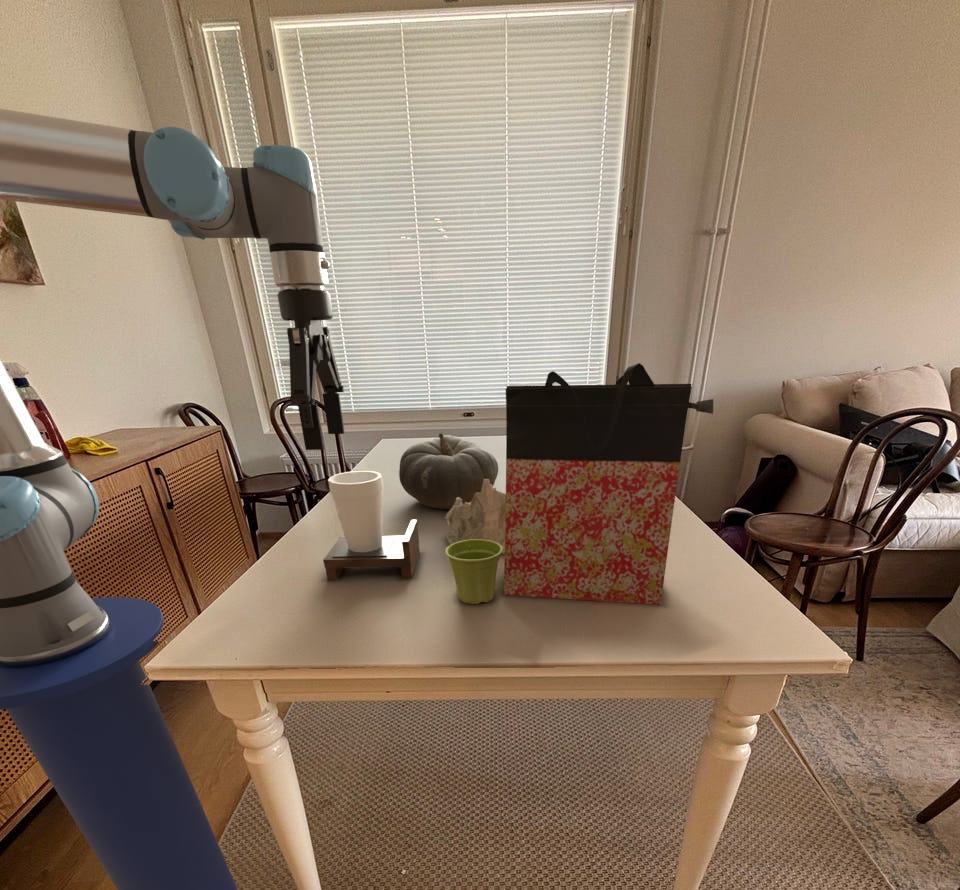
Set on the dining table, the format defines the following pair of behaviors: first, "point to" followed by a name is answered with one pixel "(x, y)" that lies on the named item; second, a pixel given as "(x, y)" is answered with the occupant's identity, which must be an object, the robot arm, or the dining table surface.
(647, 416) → the gift bag
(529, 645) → the dining table surface
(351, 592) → the dining table surface
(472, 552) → the plant pot
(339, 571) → the shelf
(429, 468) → the gourd
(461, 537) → the ceramic cottage
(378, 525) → the foam cup
